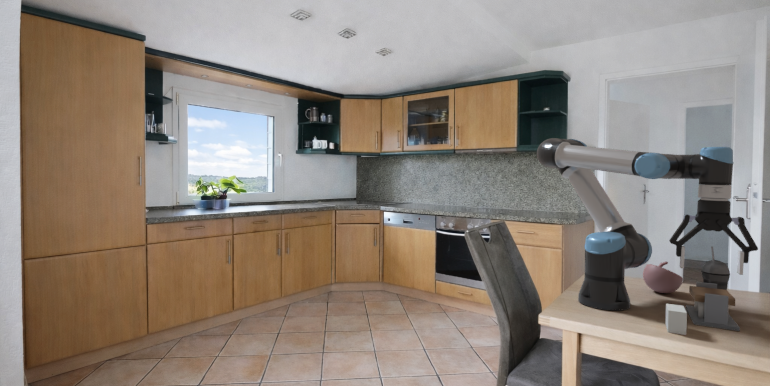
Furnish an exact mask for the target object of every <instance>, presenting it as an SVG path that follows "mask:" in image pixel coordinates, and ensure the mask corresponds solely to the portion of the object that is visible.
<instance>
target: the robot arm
mask: <svg viewBox="0 0 770 386" xmlns="http://www.w3.org/2000/svg"><path fill="white" fill-rule="evenodd" d="M536 157H537V160H538V161H539V163H540V164H541V165H542V166H544V167H546V168H549V169H557V171H558V172H559V175H561V176H562V178H563V179H567V180H568V181H569V182H570V184H571V185H572V188H573V189H574V190H575V192H576V194H577V196H578V197H579V198H580V200H581V202H582V204H583V206H584V207H585V209H586V210H587V212H588V214H589V215H590V217H591V219H592V220H593V222H594V224H595V226H596V227H597V229H598V230H599V231H598V232H597V231H596V232H592V233H590V234H587V236H586V237H585V242H584V279H583V281H582V284H581V287H580V290H579V291H578V297H577V298H578V302H579V303H580V304H582V305H584V306H587V307H589V308H594V309H599V310H604V311H605V310H606V311H626V310H629V309H630V308H631V298H630V296H629V294H628V290H627V287H626V284H625V270H627V269H634V268H635V269H636V268H639V267H640V266H643V265H645V264H646V263H648V262H649V260H651V257H652V254H653V246H652V244H651V242H650V240H649V239H648V238H647V237H646V235H643V234H641V233H639V232H638V231H637V230H636V229H635V227H634V226H633V224H632V223H628V222H625V220H624V219H623V217H622V216H621V214H620V212H619V211H618V210H617V208H616V207H615V205H614V203H613V202H612V199H611V198H610V197H609V195H608V194H607V192H606V190H605V189H604V188H603V186H602V185H601V183H600V181H599V180H598V178H597V177H596V175H595V173H594V172H593V171H599V172H600V171H601V172H608V173H614V174H615V173H616V174H623V175H629V176H635V177H641V178H644V179H647V180H648V179H649V180H657V179H662V180H663V179H664V180H671V179H672V180H674V179H677V180H681V179H682V180H683V179H684V180H689V179H690V180H692V179H693V180H698V189H697V190H698V191H697V193H698V194H697V197H698V198H699V199H698V200H697V207H696V208H697V209H696V214H695V215H692V214H687V213H685V214H684V215H683V218H682V222H681V223H680V224H679V226H678V227H677V228H676V230H675V231H674V232H673V234H672V236H671V237H670V238H669V242H670V244H672V245H675V247H676V249H675V255H676V257H679V268H680V269H685V254H686V247H685V246H684V245H685V244H686V243H687V242H689V240H691V239H692V238H693V237H694V236H696V235H697V234H698V233H699V232H701V231H702V230H704V231H707V232H712V231H713V232H722V231H723V232H724V233H725V234H726V235H727V236H728V237H729V238H730V239H731V240H732V241H733V243H735V244H736V245H737V246H738V247H739V248H740V249H741V250H737V251H738V252H737V265H736V273H737V274H738V275H740V276H741V275H742V276H743V275H744V264H748V263H749V256H750V253H751V252H754V251H755V252H756V251H758V250H759V247H758V246H757V244H756V242H755V241H754V238H753V237H752V235H751V234H750V232H749V230H748V229H747V227H746V223H745V218H744V217H741V216H738V217H737V216H736V217H731V201H730V199H731V198H732V185H733V184H732V181H733V172H734V171H733V169H734V150H733V149H732V147H729V146H708V147H702V148H700V152H699V153H695V154H674V153H672V154H671V153H659V152H646V151H638V150H637V151H636V150H626V149H625V150H624V149H615V148H605V147H597V146H595V147H594V146H587V144H586V143H585V142H583V141H581V140H578V139H575V138H568V139H567V138H557V137H556V138H555V137H552V138H547V139H545V140H543V141H542V142H541V143H540V144H539V145H538V147H537V150H536ZM592 170H593V171H592ZM693 220H695V222H696V223H697V224H696V225H695V226H694V227H693V228H692V229H691V230H689V231H688V232H687V233H686V234H685V235H684V236H682V237H681V238H680V236H681V235H682V233H683V232H684V230H685V229H686V227H688V225H689V223H692V222H693ZM732 222H733V224H734V225H736V226H737V227H738V229H739V231H740V232H741V235H742V236H743V238H744V240H745V241H746V243H747V245H748V246H747V245H746V244H745V243H744V242H743V241H742V240H741V239H740V238H739V237H738V236H737V235H736V234H735V233H734V232H733V231H732V230H731V229H730V228H729V227H728V226H729V225H730V224H731V223H732ZM678 239H679V240H678Z"/></svg>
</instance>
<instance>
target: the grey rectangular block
mask: <svg viewBox="0 0 770 386" xmlns="http://www.w3.org/2000/svg"><path fill="white" fill-rule="evenodd" d="M687 319H688V312H687V310H686V307H685V306H684V305H681V304H673V303H672V304H671V303H665V323H664V324H665V327H666V330H667V333H670V334H675V335H676V334H678V335H682V336H686V335H687V322H688V321H687Z"/></svg>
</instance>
